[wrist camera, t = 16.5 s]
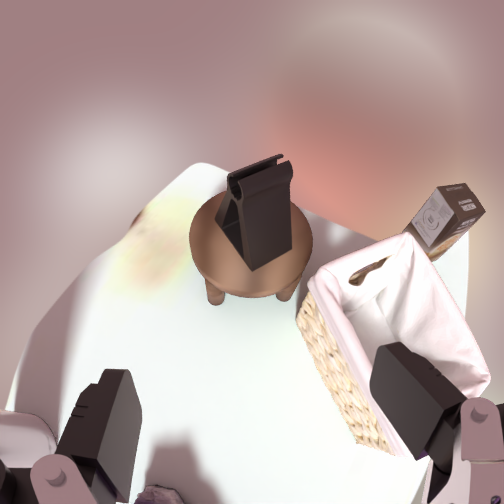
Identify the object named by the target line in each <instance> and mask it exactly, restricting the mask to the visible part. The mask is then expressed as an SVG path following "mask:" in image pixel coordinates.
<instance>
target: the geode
mask: <svg viewBox="0 0 504 504" xmlns="http://www.w3.org/2000/svg"><path fill="white" fill-rule="evenodd" d="M137 496H138V498H137V499H136V500H135V503H134V504H185V503H184V502H183V500H182V498H181V497H180V495H179V493H178V492H177V491H176V490H175V489H170V488H165V487H162V486H159V485H155V486H146V489H145V491H144V492H142V493H138V495H137Z"/></svg>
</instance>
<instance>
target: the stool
mask: <svg viewBox="0 0 504 504" xmlns="http://www.w3.org/2000/svg"><path fill="white" fill-rule="evenodd" d="M225 193H226V191H224V192H222V193H219V194H217V195H216V196H214V197H212V198H211V199H209V200H208V201H207V202H206V203H204V204H203V205H202V206H201V208H200V209H199V210H198V211H197V213H196V215H195V216H194V218H193V221H192V223H191V227H190V233H189V242H190V248H191V253H192V257H193V260H194V263H195V265H196V267H197V269H198V270H199V272H200V273H201V274H202V276H203V277H204V278H205V284H206V290H207V296H208V301H209V302H210V304H212V305H215V306H217V305H220V304H222V303H223V301H224V292H226V293H228V294H231V295H235V296H238V297H245V298H259V297H266V296H270V295H274V294H276V297H277V299H278V300H280V301H283V302H285V301H288V300H289V299H290V298H291V296H292V294H293V292H294V291H295V289H296V287H297V285H298V283H299V281H300V279H301V277H302V272H303V271H304V269H305V267H306V265H307V263H308V261H309V259H310V255H311V252H312V246H313V238H312V232H311V228H310V225H309V223H308V221H307V219H306V217H305V216H304V214H303V213H302V212H301V210H300V209H299V208H298V207H297V206H296V205H295V204H294V203H292V202H291V201H290V206H291V229H292V250H290V251H288V252H286V253H285V254H283V255H281V256H279V257H278V258H276V259H274V260H272V261H271V262H269V263H267V264H265V265H264V266H262V267H260V268H258V269H256V270H255V271H253V272H252V271H251V270H250V269H249V268H248V266H247V265H246V263H245V262H244V261H243V259H242V258H241V256H240V255H239V254H238V252H237V251H236V249H235V248H234V247H233V244H231V242H230V241H229V240H228V238H227V237H226V235H225V234H224V233H223V231H222V230H221V228H220V227H219V226H218V224H217V223H216V221H215V216H216V214H217V211H218V209H219V207H220V205H221V202H222V200H223V198H224V196H225Z"/></svg>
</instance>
